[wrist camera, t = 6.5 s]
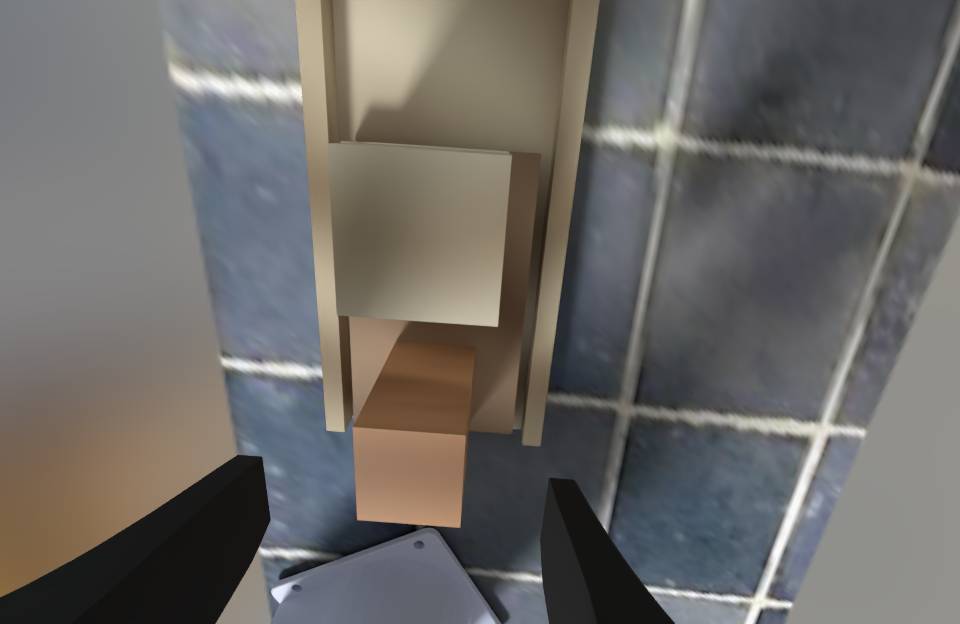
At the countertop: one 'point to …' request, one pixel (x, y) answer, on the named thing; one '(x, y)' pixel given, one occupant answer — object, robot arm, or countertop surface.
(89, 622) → the robot arm
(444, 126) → the rail bed
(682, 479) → the countertop surface
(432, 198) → the cube
